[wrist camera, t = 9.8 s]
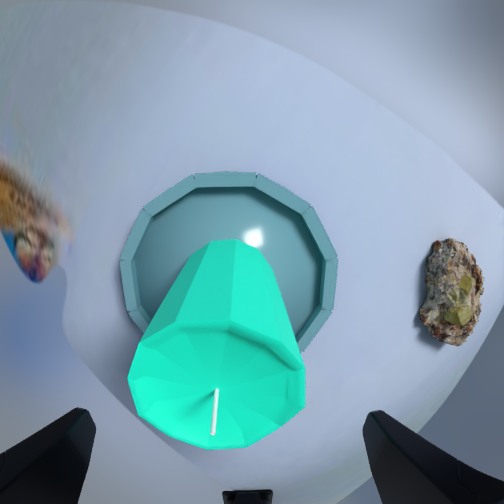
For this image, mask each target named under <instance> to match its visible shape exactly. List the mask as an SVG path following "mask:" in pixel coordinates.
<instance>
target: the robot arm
mask: <svg viewBox="0 0 504 504" xmlns="http://www.w3.org/2000/svg"><path fill="white" fill-rule="evenodd" d="M95 433H96V426H95V423H94V421H93V419H92V417H91V415H90V413H89V411H87V410H86V409H83V408H78V407H77V408H75V409H73V410H71V411H70V412H68V413H67V414H65V415H64V416H62V417H60V418H59V419H57V420H55V421H54V422H52V423H51V424H49V425H47V426H46V427H44V428H43V429H41V430H39V431H38V432H36V433H35V434H33V435H31V436H30V437H28V438H26V439H25V440H23V441H21V442H20V443H18V444H16V445H15V446H13V447H11V448H10V449H8V450H6V452H3V453H1V454H0V504H78V500H79V497H80V493H81V490H82V486H83V482H84V480H85V477H86V473H87V470H88V466H89V462H90V458H91V452H92V447H93V443H94V438H95ZM363 437H364V442H365V446H366V451H367V455H368V460H369V464H370V468H371V472H372V475H373V478H374V480H375V483H376V486H377V489H378V492H379V495H380V498H381V500H382V503H383V504H504V481H502V480H499V479H497V478H494V477H492V476H489V475H487V474H484V473H482V472H480V471H478V470H476V469H474V468H472V467H470V466H468V465H467V464H465V463H463V462H462V461H460V460H457V459H456V458H455V457H453V456H451V455H450V454H448V453H446V452H445V451H443V450H442V449H440V448H438V447H437V446H435V445H434V444H432V443H431V442H429V441H427V440H426V439H424V438H422V437H421V436H420V435H418V434H417V433H415V432H413V431H412V430H410V429H409V428H407V427H406V426H404V425H403V424H401V423H400V422H398V421H397V420H395V419H394V418H392V417H391V416H389V415H388V414H387V413H385V412H384V411H382V410H377V411H372V412H370V413H369V414H368V415H367V418H366V421H365V424H364V426H363ZM222 495H223V500H224V504H271V503H272V496H273V491H272V490H262V491H223V493H222Z"/></svg>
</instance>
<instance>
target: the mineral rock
mask: <svg viewBox="0 0 504 504" xmlns="http://www.w3.org/2000/svg"><path fill="white" fill-rule="evenodd" d="M481 272H482V270H481V269H480V268H479V266H478V265H476V260H475V258H474V256H473V255H472V254H470V253H469V252H468V248H467V247H466V245H465V244H464V243H462V242H457V241H456V240H455V239H451V238H449V239H447V240H446V242H444V243H443V242H441V241H439V240H437V241H436V242H435V243H434V249H433V253H432V255H431V256H429V257H428V260H427V264H426V269H425V273H426V279H425V282H426V285H427V297H426V300H425V303H424V304H423V305H422V307H421V308H420V320H421V322H422V323H423V325H426V326H427V327H428V328H427V329H428V331H429V333H430V334H431V336H432V337H434V338H436V339H438V340H439V341H441V342H445V343H447V344H451V345H455V346H460V345H462V343H464V342H466V341H467V336H470V335H471V334H472V333H473V328H474V327H475V326H476V324H477V322H478V321H479V320H478V317H479V315H480V312H481V304H480V301H479V297H480V295H483V291H484V288H482V285H483V281H484V277H483V276H482V273H481Z"/></svg>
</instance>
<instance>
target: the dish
mask: <svg viewBox="0 0 504 504" xmlns="http://www.w3.org/2000/svg"><path fill="white" fill-rule="evenodd" d="M310 205H311V204H309V203H308V202H306V201H305V200H303V199H301V198H300V197H298V196H296V195H295V194H294V193H292V192H291V191H289V190H288V189H286V188H285V187H283V186H281V185H279V184H277V183H275V182H273V181H271V180H270V179H268V178H266V177H264V176H263V175H261V174H258V175H256V173H242V172H227V171H225V172H214V173H200V174H195V176H194V175H190V176H189V177H187V178H185V179H184V180H182V181H181V182H179V183H178V184H176V185H175V186H173V187H171V188H169V189H168V190H167V191H165V192H164V193H162V194H161V195H159V196H158V197H156V198H155V199H154V200H152V201H151V202H149V203H148V204H146V205H145V206H143V209H141V210H140V212H139V215H138V217H137V219H136V221H135V223H134V226H133V228H132V230H131V233H130V235H129V237H128V240H127V242H126V244H125V247H124V249H123V252H122V254H121V256H120V259H121V260H120V269H121V277H122V284H123V290H124V297H125V303H126V308H127V311H129V313H128V314H129V315H130V317H131V318H132V319H133V321H134V322H135V323H136V325H137V326H138V327H139V329H140V330H141V331H142V333H143V334H144V333H145V331H146V330H147V328H148V326H149V324H150V323H151V321H152V319H153V317H154V316H155V314H156V312H157V311H158V309H159V307H160V305H161V304H162V302H163V300H164V299H165V297H166V295H167V294H168V292H169V290H170V289H171V287H172V285H173V284H174V282H175V280H176V279H177V277H178V275H179V274H180V272H181V270H182V269H183V267H184V266H185V264H186V262H187V261H188V259H189V258H190V256H191V255H192V254H193V253H195V252H196V251H197V250H199V249H200V248H202V247H203V246H205V245H206V244H207V243H209V242H210V241H218V240H230V239H237V240H239V241H241V242H244V243H246V244H248V245H250V246H252V247H254V248H256V249H259V251H260V252H261V253H262V255H263V256H264V258H265V259H266V261H267V262H268V264H269V265H270V266H271V268H272V269H273V272H274V275H275V278H276V281H277V284H278V287H279V290H280V293H281V296H282V299H283V302H284V305H285V308H286V311H287V314H288V317H289V320H290V323H291V326H292V329H293V333H294V336H295V339H296V342H297V345H298V348H299V351H300V354H301V351H303V352H304V350H305V349H306V348H307V346H308V345H309V344H310V342H311V341H312V340H313V338H314V337H315V336H316V334H317V333H318V331H319V330H320V329H321V327H322V326H323V325H324V323H325V322H326V320H327V319H328V318H329V316H330V315H331V313H332V311H331V310H333V307H334V299H335V289H336V279H337V268H338V258H337V254H336V251H335V249H334V247H333V245H332V243H331V241H330V239H329V237H328V235H327V233H326V231H325V229H324V227H323V225H322V223H321V221H320V219H319V218H318V216H317V214H316V212H315V210H314V208H313V207H312V206H310Z"/></svg>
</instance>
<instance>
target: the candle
mask: <svg viewBox="0 0 504 504" xmlns="http://www.w3.org/2000/svg"><path fill="white" fill-rule="evenodd" d="M127 380H128V383H129V387H130V390H131V393H132V397H133V400H134V403H135V406H136V410H137V413H138V415H139V416H140V417H142V418H143V419H144V420H146V421H147V422H149V423H150V424H151V425H153V426H154V427H156V428H157V429H159V430H160V431H162V432H163V433H165V434H166V435H168V436H170V437H172V438H175V439H178V440H180V441H183V442H186V443H188V444H191V445H194V446H197V447H200V448H203V449H206V450H213V449H232V448H245V447H249V446H250V445H252V444H254V443H255V442H257V441H259V440H261V439H262V438H264V437H265V436H267V435H269V434H270V433H272V432H274V431H275V430H277V429H278V428H280V427H281V426H283V425H284V424H285V423H286V422H288V421H289V420H290V419H291V418H292V417H294V416H295V415H296V414H297V413H298V412H299V411H301V410H302V409H303V408H304V407H305V366H304V363H303V360H302V357H301V354H300V351H299V348H298V345H297V342H296V339H295V336H294V333H293V329H292V326H291V323H290V320H289V317H288V314H287V311H286V308H285V305H284V302H283V299H282V296H281V293H280V290H279V287H278V284H277V281H276V278H275V275H274V272H273V269H272V268H271V266H270V265H269V264H268V262H267V261H266V259H265V258H264V256H263V255H262V253H261V252H260V251H259V249H256V248H254V247H252V246H250V245H248V244H246V243H244V242H241V241H239V240H237V239H230V240H218V241H210V242H209V243H207V244H206V245H205V246H203V247H202V248H200V249H199V250H197V251H196V252H195V253H193V254H192V255H191V256H190V258H189V259H188V261H187V262H186V264H185V266H184V267H183V269H182V270H181V272H180V274H179V275H178V277H177V279H176V280H175V282H174V284H173V285H172V287H171V289H170V290H169V292H168V294H167V295H166V297H165V299H164V300H163V302H162V304H161V305H160V307H159V309H158V311H157V312H156V314H155V316H154V317H153V319H152V321H151V323H150V324H149V326H148V328H147V330H146V331H145V333H144V335H143V337H142V338H141V340H140V342H139V344H138V347H137V350H136V353H135V356H134V359H133V362H132V365H131V368H130V371H129V374H128V377H127Z"/></svg>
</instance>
